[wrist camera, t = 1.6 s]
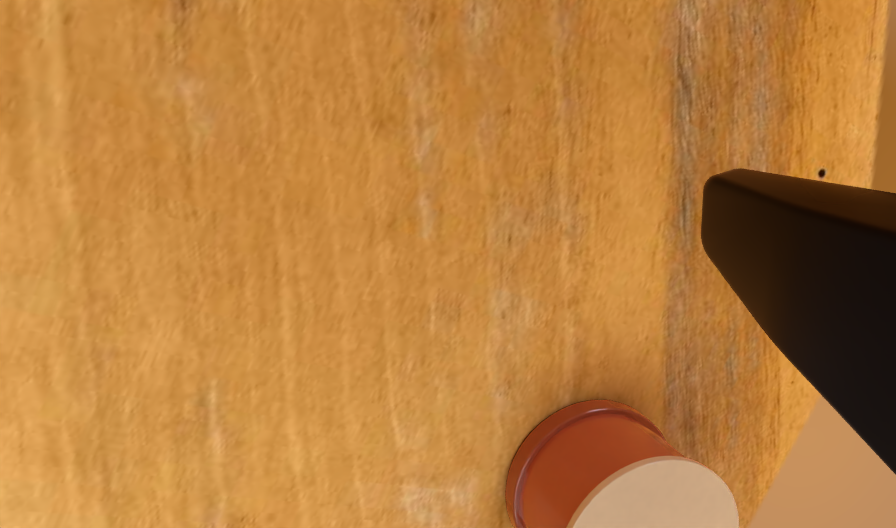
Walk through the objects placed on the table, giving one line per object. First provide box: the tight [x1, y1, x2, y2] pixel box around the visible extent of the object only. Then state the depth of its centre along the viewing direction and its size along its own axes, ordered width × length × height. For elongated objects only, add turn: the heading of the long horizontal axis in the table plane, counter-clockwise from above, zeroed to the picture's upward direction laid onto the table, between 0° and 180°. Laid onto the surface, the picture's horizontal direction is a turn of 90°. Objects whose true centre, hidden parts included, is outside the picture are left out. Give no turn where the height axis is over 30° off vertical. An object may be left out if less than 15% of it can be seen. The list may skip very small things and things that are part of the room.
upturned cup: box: [506, 400, 739, 528], centre depth 26 cm, size 6×6×4 cm
